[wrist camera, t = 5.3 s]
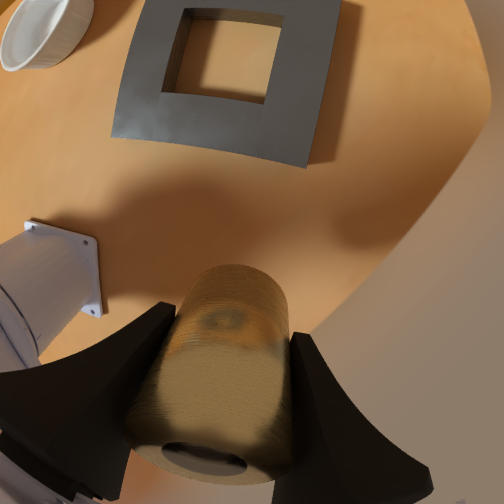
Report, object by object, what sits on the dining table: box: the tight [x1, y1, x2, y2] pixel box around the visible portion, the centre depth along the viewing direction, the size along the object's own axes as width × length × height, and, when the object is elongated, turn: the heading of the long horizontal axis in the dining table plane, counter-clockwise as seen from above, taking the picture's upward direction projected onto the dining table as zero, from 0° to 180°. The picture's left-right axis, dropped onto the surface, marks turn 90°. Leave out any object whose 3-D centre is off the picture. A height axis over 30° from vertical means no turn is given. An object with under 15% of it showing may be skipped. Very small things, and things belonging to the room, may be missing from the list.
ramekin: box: [0, 0, 94, 72], centre depth 10 cm, size 9×9×4 cm
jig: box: [111, 0, 341, 169], centre depth 13 cm, size 12×12×2 cm
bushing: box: [121, 264, 292, 485], centre depth 8 cm, size 4×4×7 cm
